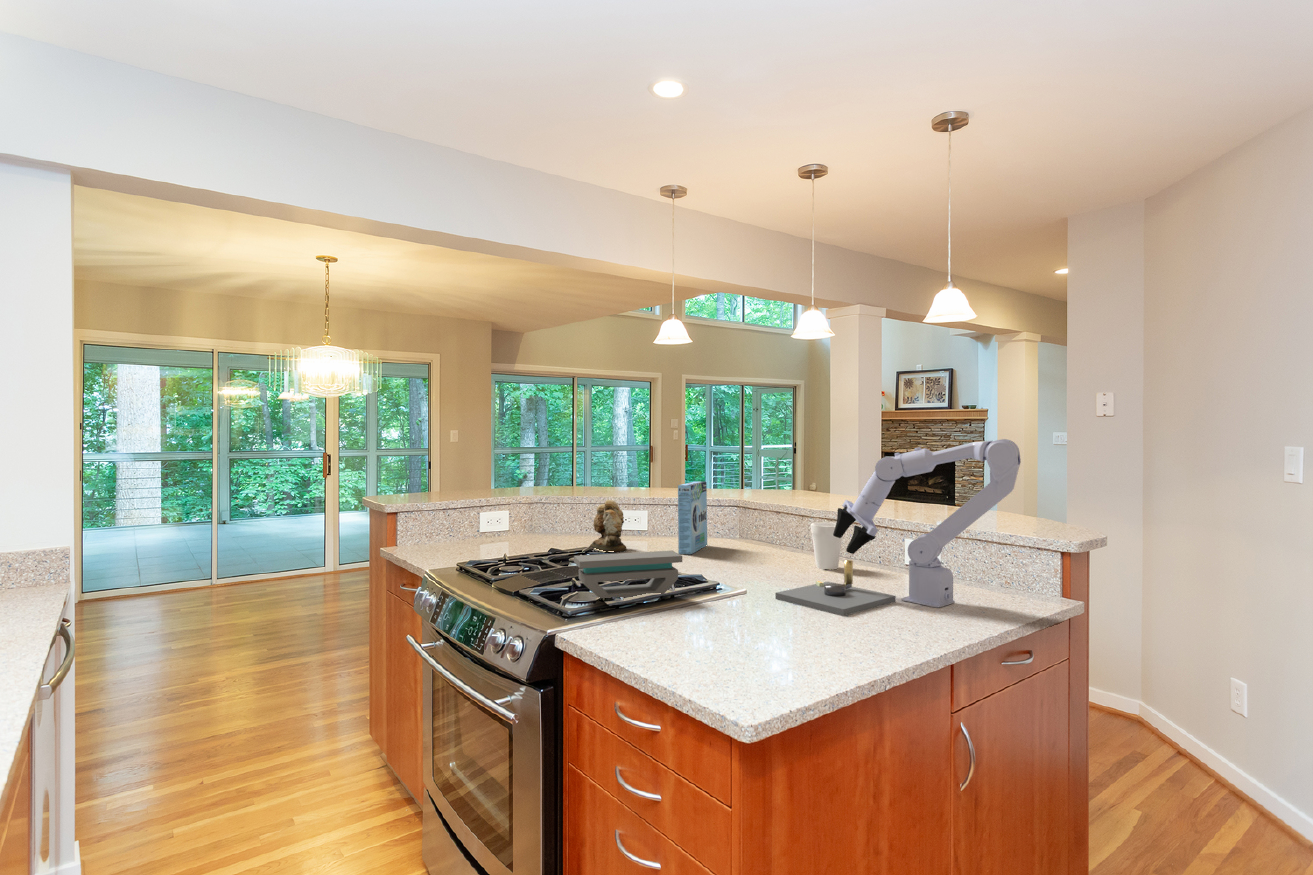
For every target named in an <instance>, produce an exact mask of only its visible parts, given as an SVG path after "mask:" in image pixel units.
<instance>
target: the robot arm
mask: <svg viewBox="0 0 1313 875" xmlns="http://www.w3.org/2000/svg"><path fill="white" fill-rule="evenodd" d="M1020 452H1021V451H1020V449H1019V447H1018V445H1017V444H1016V443H1015V441H1012V440H1011V439H1006V438H1001V439H997V440H985V441H983V440H982V441H973V442H970V443H969V442H968V443H965V444H961V445H957V446H953V447H950V448H949V447H948V448H945V449H941V450H936V451H932V450H930V449H929V448H927V447H926V448H922V447H921V446H919V447H915V448H914V450H912V451H911V450H910V451H908V452H902V453H900V452H894V456H886V455H885V456H884V457H882V458H880V459H879V460H878V461H877V462H876V463H875V466H874V472H873V473H872V475H871V476H870V478H868V480H867V482H866V484H865V485H864V487H863V489H862V490H861V492H860V493H859V495H858V497H857V498H856V500H855V501H854V503H853V502H852V501H850V500H847V499H845V500H844V502H843V503H842V505H841V506H842V508H841V507H838V508H837V515H836V516H837V518H836V522H835V523H836V526H835V530H834V533H833V536H835V537H838V538H841V537H842V538H843V536H844V535H845V534H846V532H847V531H848V529H849V528H850V527H851V526H852V525H853V523H855V522H858V524H860V525H861V526H858V525H856V524H855V525H854V527H853V532H852V533H853V534H852V536H851V539H850V541H849V543H848V545H847V547H846V549H845V551H846V553H849V554H852V555H854V554H856V552H858V550H860V549H861V548H862V547H864V545H865V544H867V543H868V542H871V541H873V540H875V539H876V537H877V536H876V535H877V533H878V531H879V529H878V528H877V526H876V525H875V523H874V518H875V516H876V514H877V513H878V511H879V510H880V508H881V506H882V504H883V503H884V502H885V500H886V499H887V497H888V495H889V494H890V492H891V489H892V487H893V485H894V484H895V483H896V480H899V479H900V478H901V477H904V478H908V477H913V476H917V475H921V474H926V473H931V472H933V471H934V469H935V468H936V466H937V465H941V464H942V465H943V464H946V463H952V462H957V461H962V460H968V459H972V460H976V461H979V462H984V461H987V462H986V463H987V464H988V467H989V483H988V484H986V485H985V486H984V487H983V488H982V489H981V490H979V492H977V493H976V494H974V495H973V496H972V497H971V498H969V499H968V500H967V501H966V502H965V503H964V504H962V505H961V506H960V507H959V508H958V509H956V510H955V511H954V512H952V514H950V515H949V516H948V517H947V518H946V519H944V520H943V521H942V522H940V523H939V524H938V525H936V526H935V528H933V529H932V530H931V531H929V532H927V533H923V534H921V535H919V536H918V537H916V538H915V539H913V540H912V541H911V542H910V543H909V545H908V546H907V555H908V558H909V559H910V560H909V561H908V596H905V597H901V599H900V600H901V601H905V602H909V603H913V604H918V605H923V606H927V607H932V608H942V607H945V606H949V605H953V604H954V603H955V602H956V601H955V600H954V575H953V571H952V570H951V568H948V567H944V566H943V565H942V561H941V560H940V558H938V557H939V556H940V555H941V553H942V552H943V551H942V550H943V549H944V547H945V546H946V545H948V544H949V543H951V541H952V540H954V539H955V538H956V537H958V536H959V535H960V534H962V533H964V531H966V529H968V528H969V527H970V526H971V525H972V524H974V523H975V522H976V521H977V520H979V519H980V518H981V517H982V516H984V515H985V514H986V513H987V512H989V511H990V510H992V509H993V508H994V507H995V506H996V505H997V504H999V503H1000V502H1001V501H1002V500H1004V499H1005V498H1006V497H1007V496H1008V495H1009V494H1012V492H1013V490H1014V489H1015V487H1016V481H1017V477H1018V473H1019V469H1020V466H1021V462H1022V461H1021V454H1020Z"/></svg>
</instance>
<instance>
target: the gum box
mask: <svg viewBox="0 0 1313 875" xmlns="http://www.w3.org/2000/svg"><path fill="white" fill-rule="evenodd" d="M707 492H708V490H707V481H692V482H687V483H683V484H678V485H677V502H678V503H677V514H678V515H677V524H678V525H677V526H678V527H677V529H678V530H677V531H678V532H677V533H678V540H677V542H678V549H677V550H678V552H677V553H678V554H680V555H692V554H695V553H696V552H697V551H699V550H702V549H703V548H705V547H707V546H708V509H707V508H708V502H707V501H708V500H707V499H708V497H707V496H708V495H707ZM706 545H707V546H706ZM701 548H702V549H701Z"/></svg>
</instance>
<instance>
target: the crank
mask: <svg viewBox="0 0 1313 875" xmlns="http://www.w3.org/2000/svg"><path fill="white" fill-rule="evenodd" d="M843 561H844V562H843V565H844V566H843V567H844V569H843V570H844V572H843V577H844V578H843V580H844V582H843V583H836V582H833V583H828V584H825V585H824V594H826V595H829V596H844V595H846V589H848V588H851V587H853V584H854V582H853V578H854V577H853V569H854V568H853V567H854V565H853V564H854V560H851V559H845V560H843Z"/></svg>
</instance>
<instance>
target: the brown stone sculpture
mask: <svg viewBox="0 0 1313 875" xmlns="http://www.w3.org/2000/svg"><path fill="white" fill-rule="evenodd" d="M624 524H625V520H624V512H623V510H622V509H620V507H619V505H618V503H617V502H616V501H614V500H613V499H607V500H605V502H604V503H603V504H600V505H598V506H597V507H596V514H595V516H594V518H593V528H594V532H597V533H598V534H600V535H601V536H600V537H599V538H597V539H595V540H593V541H592V543H591V544H590V545H589V548H590V547H593V548H596V549H599V550H603V551H606V552H607V551H614V552H619V553H625V552H627V546H626V545H625V544H624V543H623V542H622V538H621V536H622V531H623V525H624ZM624 551H625V552H624Z"/></svg>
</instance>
